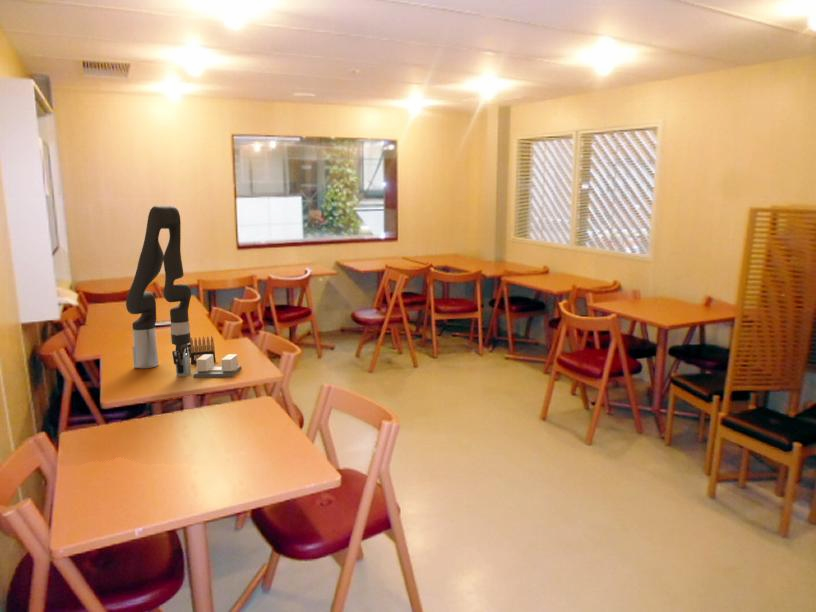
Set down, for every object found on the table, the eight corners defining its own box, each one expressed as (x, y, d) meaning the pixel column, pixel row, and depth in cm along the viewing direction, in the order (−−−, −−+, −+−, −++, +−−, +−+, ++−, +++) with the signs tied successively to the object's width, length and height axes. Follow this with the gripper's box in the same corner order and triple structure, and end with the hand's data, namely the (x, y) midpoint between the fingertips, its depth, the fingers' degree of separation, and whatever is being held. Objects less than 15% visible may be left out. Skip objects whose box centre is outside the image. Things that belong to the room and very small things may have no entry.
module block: (176, 376, 252) (175, 357, 251) (181, 373, 257) (180, 354, 256) (186, 376, 252) (184, 357, 251) (190, 373, 257) (189, 354, 255)
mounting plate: (193, 377, 250) (193, 372, 249) (205, 369, 263) (204, 364, 262) (232, 377, 249) (231, 372, 249) (241, 368, 262) (241, 364, 262)
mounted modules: (197, 371, 251) (196, 359, 251) (204, 365, 260) (204, 354, 259) (231, 371, 251) (230, 359, 250) (238, 365, 260) (237, 354, 259)
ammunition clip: (190, 364, 272) (188, 338, 270) (190, 363, 273) (189, 337, 271) (215, 361, 275) (214, 336, 273) (215, 360, 277) (213, 335, 275)
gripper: (178, 328, 259) (181, 366, 261) (164, 335, 244) (167, 376, 247) (195, 328, 258) (198, 366, 261) (182, 335, 244) (185, 376, 247)
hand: (183, 371), depth 254 cm, fingers open, 5 cm apart
